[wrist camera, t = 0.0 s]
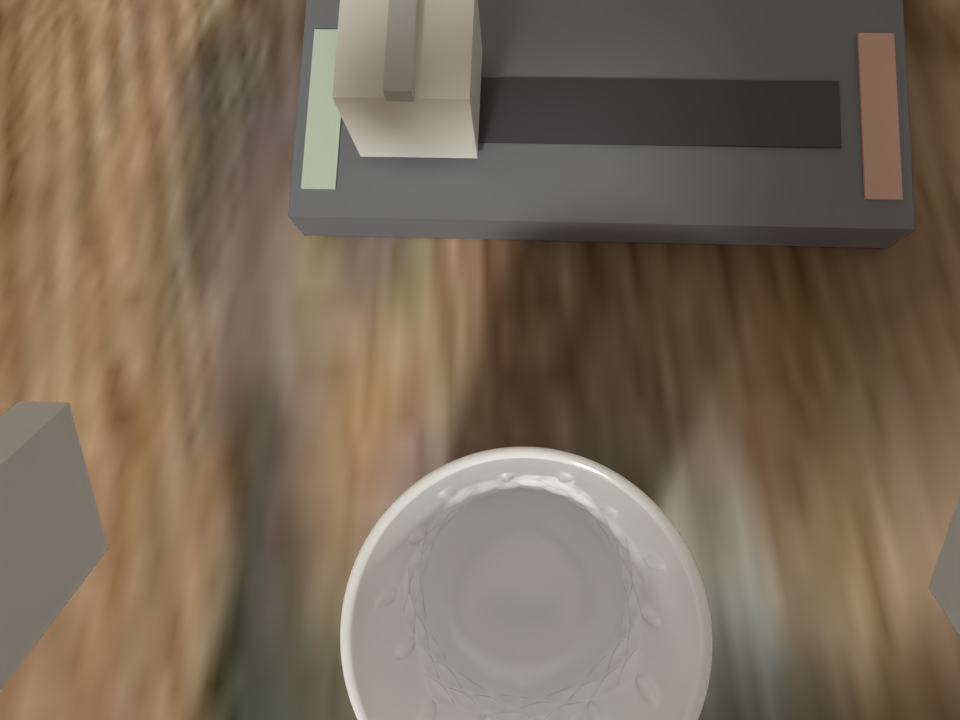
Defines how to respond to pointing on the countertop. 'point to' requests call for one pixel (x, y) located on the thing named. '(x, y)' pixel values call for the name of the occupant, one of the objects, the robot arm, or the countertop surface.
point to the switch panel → (640, 129)
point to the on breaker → (409, 77)
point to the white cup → (525, 599)
